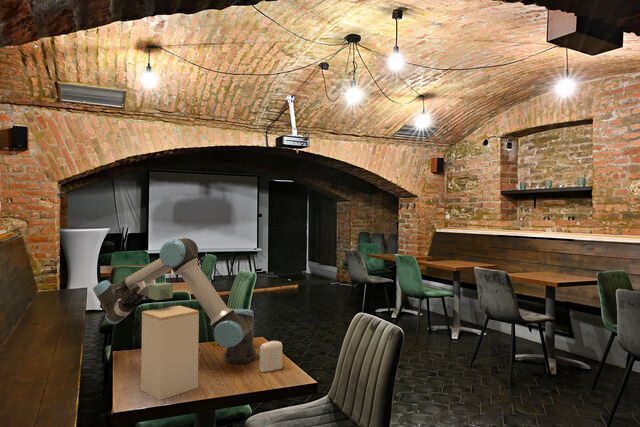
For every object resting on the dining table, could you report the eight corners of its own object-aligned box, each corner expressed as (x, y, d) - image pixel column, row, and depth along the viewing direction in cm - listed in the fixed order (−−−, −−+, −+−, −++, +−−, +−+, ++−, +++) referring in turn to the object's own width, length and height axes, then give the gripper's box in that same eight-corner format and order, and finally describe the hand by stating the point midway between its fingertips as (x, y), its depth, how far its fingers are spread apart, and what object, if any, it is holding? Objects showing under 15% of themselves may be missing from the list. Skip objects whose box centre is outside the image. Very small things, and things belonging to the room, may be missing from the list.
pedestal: (197, 387, 173) (198, 310, 173) (159, 400, 162) (160, 317, 162) (178, 378, 183) (179, 305, 183) (141, 389, 171) (142, 311, 171)
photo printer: (279, 366, 199) (279, 338, 199) (283, 369, 195) (283, 340, 195) (258, 370, 193) (258, 342, 193) (262, 373, 190) (262, 344, 190)
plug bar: (172, 297, 177) (172, 283, 177) (156, 300, 172) (156, 285, 172) (145, 290, 192) (145, 278, 192) (129, 292, 187) (129, 279, 187)
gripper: (146, 309, 201) (170, 289, 188) (108, 315, 189) (131, 294, 175) (143, 294, 204) (166, 273, 190) (104, 299, 191) (127, 277, 178)
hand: (149, 283), depth 183 cm, fingers closed on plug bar, 4 cm apart
